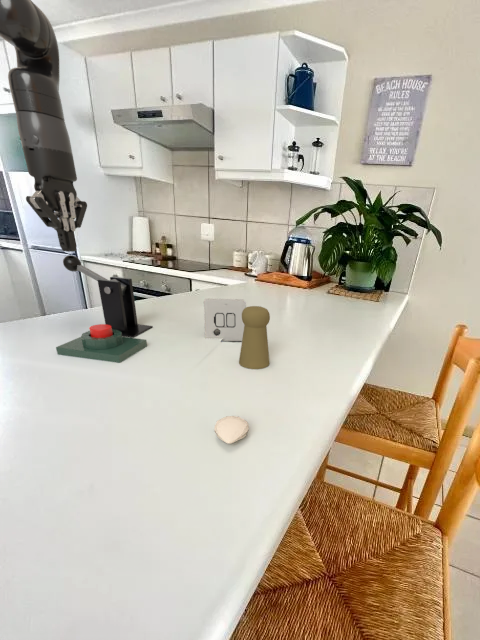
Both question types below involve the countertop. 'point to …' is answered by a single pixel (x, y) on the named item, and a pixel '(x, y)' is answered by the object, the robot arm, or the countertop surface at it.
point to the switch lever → (85, 270)
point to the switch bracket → (120, 307)
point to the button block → (102, 347)
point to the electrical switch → (224, 319)
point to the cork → (255, 338)
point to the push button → (101, 331)
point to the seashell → (231, 429)
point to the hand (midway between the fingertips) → (69, 251)
